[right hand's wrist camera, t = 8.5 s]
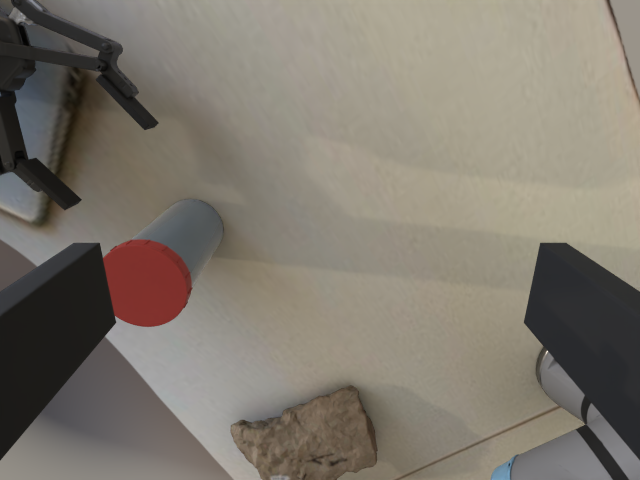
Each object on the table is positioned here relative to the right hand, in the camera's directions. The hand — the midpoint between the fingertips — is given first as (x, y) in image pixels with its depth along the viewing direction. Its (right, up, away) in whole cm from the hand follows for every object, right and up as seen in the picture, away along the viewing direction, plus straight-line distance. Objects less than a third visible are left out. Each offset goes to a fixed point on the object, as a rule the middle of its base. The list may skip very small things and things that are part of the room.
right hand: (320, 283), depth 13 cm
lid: (-17, -3, +27) cm, 32 cm away
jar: (-17, +3, +43) cm, 46 cm away
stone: (-2, -29, +55) cm, 62 cm away
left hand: (-23, +10, +34) cm, 42 cm away
